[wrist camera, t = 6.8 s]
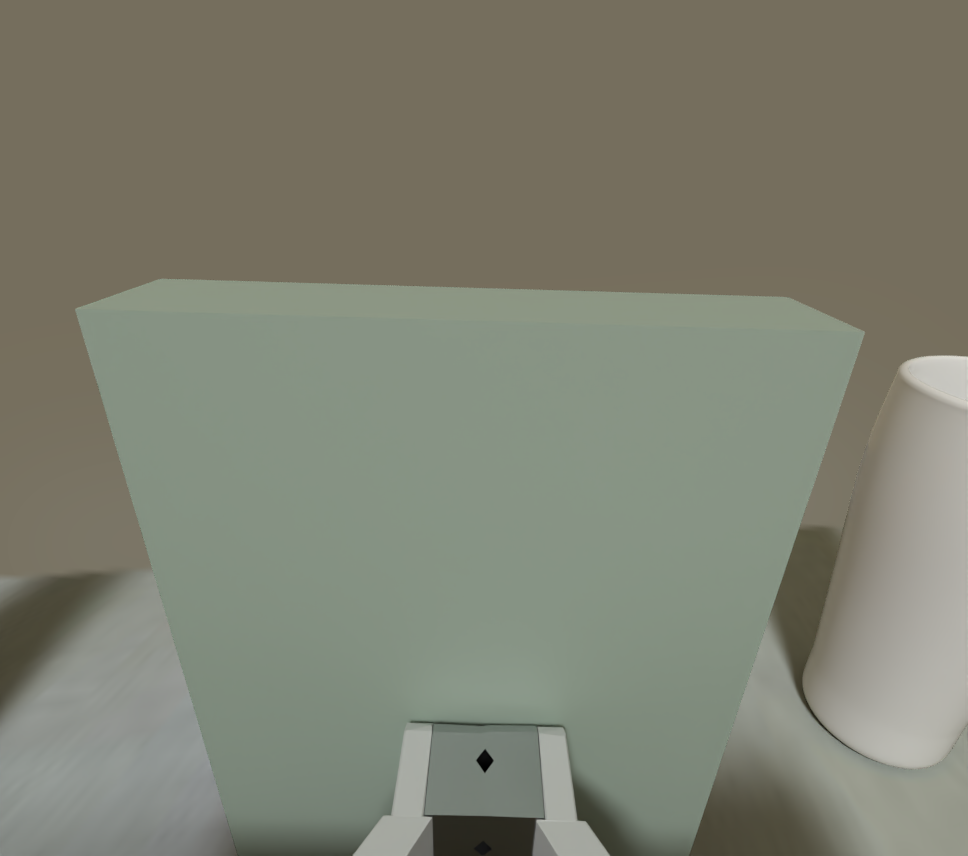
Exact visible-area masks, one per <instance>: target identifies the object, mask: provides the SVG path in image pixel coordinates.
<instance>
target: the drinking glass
mask: <svg viewBox="0 0 968 856" xmlns="http://www.w3.org/2000/svg"><path fill="white" fill-rule="evenodd" d="M802 685H803V691H804V695H805V698H806V700H807V702H808V704H809V706H810V708H811V710H812V711H813V713H814V714H815V716H816V717H817V718H818V720H819V721H820V722H821V723H822V724H823V726H824V727H825V728H826V729H827V730H828V731H829V732H830V733H832V734H833V735H834V736H835V737H836V738H837V739H839V740H840V741H841V742H842V743H844V744H845V745H847V746H848V747H850V748H851V749H853V750H854V751H856V752H858V753H860V754H861V755H863V756H865V757H867V758H869V759H872V760H874V761H876V762H879V763H882V764H885V765H888V766H892V767H897V768H903V769H923V768H928V767H931V766H934V765H936V764H938V763H940V762H941V761H942V760H944V759H945V758H946V757H947V755H948V754H949V753H950V752H951V750H952V749H953V747H954V745H955V744H956V742H957V740H958V739H959V737H960V736H961V734H962V732H963V731H964V729H965V728H966V726H967V725H968V357H965V356H925V357H918V358H913V359H910V360H908V361H905V362H904V363H903V364H901V365H900V367H899V368H898V370H897V373H896V375H895V378H894V380H893V382H892V385H891V386H890V389H889V391H888V393H887V395H886V398H885V400H884V402H883V404H882V407H881V409H880V412H879V414H878V417H877V419H876V421H875V424H874V426H873V429H872V432H871V434H870V437H869V440H868V443H867V446H866V448H865V451H864V454H863V458H862V460H861V464H860V466H859V470H858V473H857V477H856V481H855V484H854V488H853V492H852V495H851V499H850V503H849V507H848V511H847V516H846V519H845V523H844V527H843V531H842V535H841V539H840V543H839V548H838V552H837V556H836V560H835V563H834V567H833V571H832V575H831V579H830V583H829V587H828V591H827V595H826V599H825V603H824V607H823V610H822V614H821V618H820V622H819V626H818V629H817V633H816V637H815V640H814V644H813V647H812V649H811V652H810V654H809V657H808V659H807V662H806V665H805V667H804V671H803V676H802Z"/></svg>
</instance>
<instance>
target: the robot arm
mask: <svg viewBox="0 0 968 856" xmlns="http://www.w3.org/2000/svg"><path fill="white" fill-rule="evenodd" d="M352 856H610V855H609V853H608V852H607V850H606V849H605V847H604V846H603V845H602V843H601V842H600V840H599V839H598V838H597V836H596V835H595V833H594V832H593V831H592V829H591V828H590V826H589V825H588V823H587V822H586V821H578V820H577V813H576V805H575V798H574V790H573V783H572V775H571V768H570V760H569V753H568V746H567V738H566V733H565V731H564V729H563V727H536V726H525V725H485V726H475V725H453V724H434V723H407V724H406V727H405V730H404V735H403V742H402V748H401V755H400V761H399V768H398V774H397V780H396V787H395V793H394V800H393V806H392V813H391V815H383V816H382V817H381V819H380V820H379V821H378V823H377V824H376V825H375V826H374V828H373V829H372V830H371V832H370V833H369V834H368V836H367V837H366V838H365V840H364V841H363V842H362V844H361V845H360V846H359V848H358V849H357V850H356V852H355V853H354V854H353V855H352Z"/></svg>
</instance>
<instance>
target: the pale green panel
mask: <svg viewBox="0 0 968 856" xmlns="http://www.w3.org/2000/svg"><path fill="white" fill-rule="evenodd" d="M75 311H76V314H77V317H78V321H79V324H80V327H81V331H82V334H83V338H84V340H85V344H86V348H87V351H88V354H89V358H90V361H91V364H92V367H93V371H94V374H95V378H96V381H97V384H98V388H99V391H100V394H101V398H102V401H103V404H104V408H105V411H106V415H107V418H108V421H109V425H110V428H111V432H112V435H113V438H114V442H115V445H116V448H117V451H118V455H119V458H120V461H121V465H122V468H123V472H124V475H125V478H126V482H127V485H128V488H129V491H130V495H131V499H132V501H133V505H134V509H135V512H136V515H137V519H138V522H139V525H140V529H141V532H142V535H143V539H144V542H145V546H146V549H147V552H148V556H149V559H150V562H151V566H152V569H153V572H154V576H155V579H156V582H157V586H158V589H159V593H160V596H161V599H162V603H163V606H164V609H165V613H166V616H167V619H168V623H169V626H170V629H171V633H172V636H173V640H174V643H175V646H176V650H177V653H178V656H179V660H180V663H181V666H182V670H183V673H184V676H185V680H186V683H187V686H188V690H189V693H190V697H191V700H192V703H193V707H194V710H195V713H196V717H197V720H198V723H199V727H200V730H201V733H202V737H203V740H204V744H205V747H206V750H207V754H208V757H209V760H210V764H211V767H212V770H213V774H214V777H215V780H216V784H217V787H218V790H219V794H220V797H221V801H222V804H223V807H224V811H225V814H226V817H227V821H228V824H229V827H230V831H231V834H232V837H233V841H234V844H235V848H236V851H237V854H238V856H352V855H353V854H354V853H355V852H356V850H357V849H358V848H359V846H360V845H361V844H362V842H363V841H364V840H365V838H366V837H367V836H368V834H369V833H370V832H371V830H372V829H373V828H374V826H375V825H376V824H377V823H378V821H379V820H380V819H381V817H382V816H383V815H391V813H392V806H393V800H394V793H395V787H396V780H397V774H398V768H399V761H400V755H401V748H402V742H403V735H404V730H405V727H406V724H407V723H434V724H453V725H475V726H485V725H525V726H536V727H563V729H564V731H565V733H566V738H567V746H568V753H569V760H570V768H571V775H572V783H573V790H574V798H575V805H576V813H577V820H578V821H586V822H587V823H588V825H589V826H590V828H591V829H592V831H593V832H594V833H595V835H596V836H597V838H598V839H599V840H600V842H601V843H602V845H603V846H604V847H605V849H606V850H607V852H608V853H609V855H610V856H689V855H690V852H691V849H692V846H693V843H694V840H695V837H696V834H697V831H698V828H699V825H700V822H701V819H702V816H703V813H704V810H705V807H706V804H707V801H708V798H709V795H710V792H711V789H712V786H713V783H714V780H715V777H716V774H717V771H718V768H719V765H720V762H721V759H722V756H723V753H724V750H725V747H726V744H727V741H728V738H729V735H730V732H731V729H732V727H733V724H734V721H735V718H736V715H737V712H738V709H739V706H740V703H741V700H742V697H743V694H744V691H745V688H746V685H747V682H748V679H749V676H750V673H751V670H752V667H753V664H754V661H755V658H756V655H757V652H758V649H759V646H760V643H761V640H762V637H763V634H764V631H765V628H766V625H767V622H768V619H769V616H770V613H771V610H772V607H773V604H774V601H775V598H776V596H777V593H778V590H779V587H780V584H781V581H782V578H783V575H784V572H785V569H786V566H787V563H788V560H789V557H790V554H791V551H792V548H793V545H794V542H795V539H796V536H797V533H798V530H799V527H800V524H801V521H802V518H803V515H804V512H805V509H806V506H807V503H808V500H809V497H810V494H811V491H812V488H813V485H814V482H815V479H816V476H817V473H818V470H819V468H820V465H821V462H822V459H823V456H824V452H825V450H826V447H827V444H828V441H829V437H830V435H831V432H832V429H833V426H834V423H835V420H836V417H837V414H838V411H839V408H840V405H841V402H842V399H843V396H844V393H845V390H846V387H847V384H848V381H849V378H850V375H851V372H852V369H853V366H854V363H855V360H856V357H857V354H858V351H859V348H860V345H861V342H862V339H863V336H864V334H865V332H864V331H862V330H860V329H857V328H855V327H853V326H851V325H848V324H846V323H844V322H842V321H840V320H837V319H835V318H833V317H831V316H829V315H826V314H824V313H822V312H820V311H817V310H815V309H813V308H811V307H809V306H806V305H804V304H802V303H800V302H797V301H795V300H793V299H791V298H789V297H763V296H730V295H696V294H694V295H693V294H661V293H626V292H593V291H558V290H525V289H524V290H523V289H522V290H521V289H490V288H456V287H421V286H388V285H354V284H353V285H352V284H318V283H285V282H283V283H282V282H251V281H217V280H181V279H159V280H156V281H153V282H150V283H148V284H144V285H142V286H139V287H136V288H133V289H130V290H127V291H125V292H122V293H119V294H116V295H113V296H111V297H108V298H105V299H102V300H99V301H96V302H93V303H91V304H88V305H85V306H82V307H79V308H76V309H75Z"/></svg>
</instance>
